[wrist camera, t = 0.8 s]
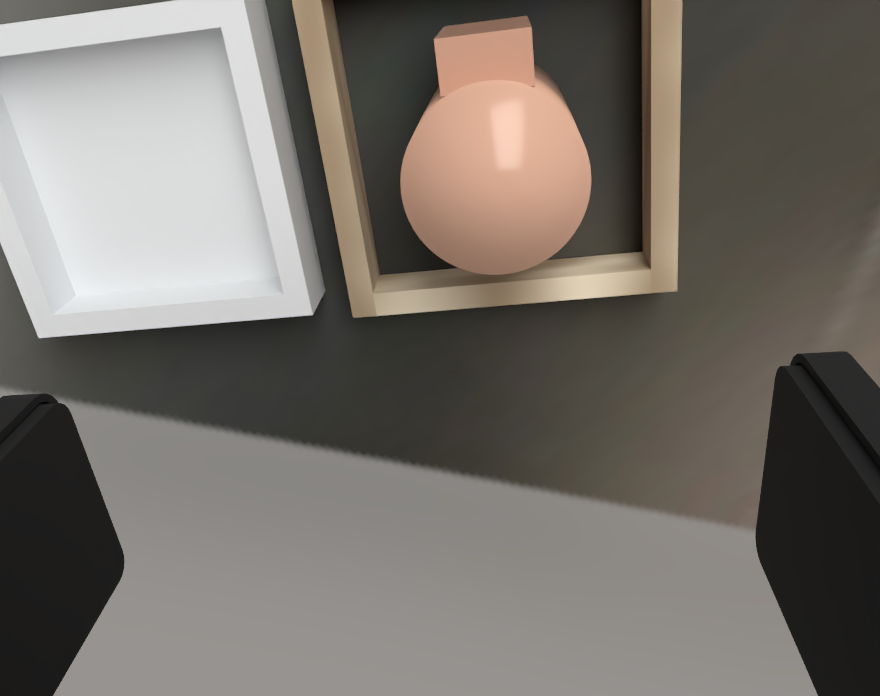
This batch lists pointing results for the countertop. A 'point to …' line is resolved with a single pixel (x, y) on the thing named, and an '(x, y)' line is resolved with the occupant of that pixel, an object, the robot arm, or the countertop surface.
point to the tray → (152, 170)
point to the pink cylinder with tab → (494, 154)
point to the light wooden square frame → (536, 283)
